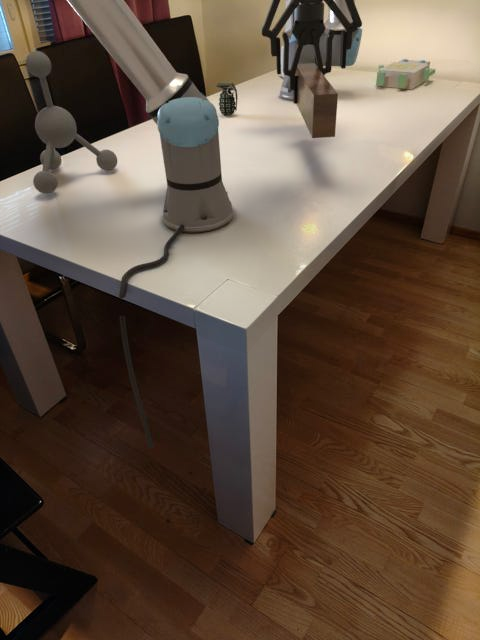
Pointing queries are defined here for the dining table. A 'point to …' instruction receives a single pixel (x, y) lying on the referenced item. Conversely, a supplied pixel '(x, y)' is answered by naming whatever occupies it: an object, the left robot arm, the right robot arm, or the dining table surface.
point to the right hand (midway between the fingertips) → (305, 101)
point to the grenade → (227, 99)
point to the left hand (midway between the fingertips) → (310, 70)
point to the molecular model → (57, 130)
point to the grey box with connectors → (404, 74)
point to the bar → (316, 101)
